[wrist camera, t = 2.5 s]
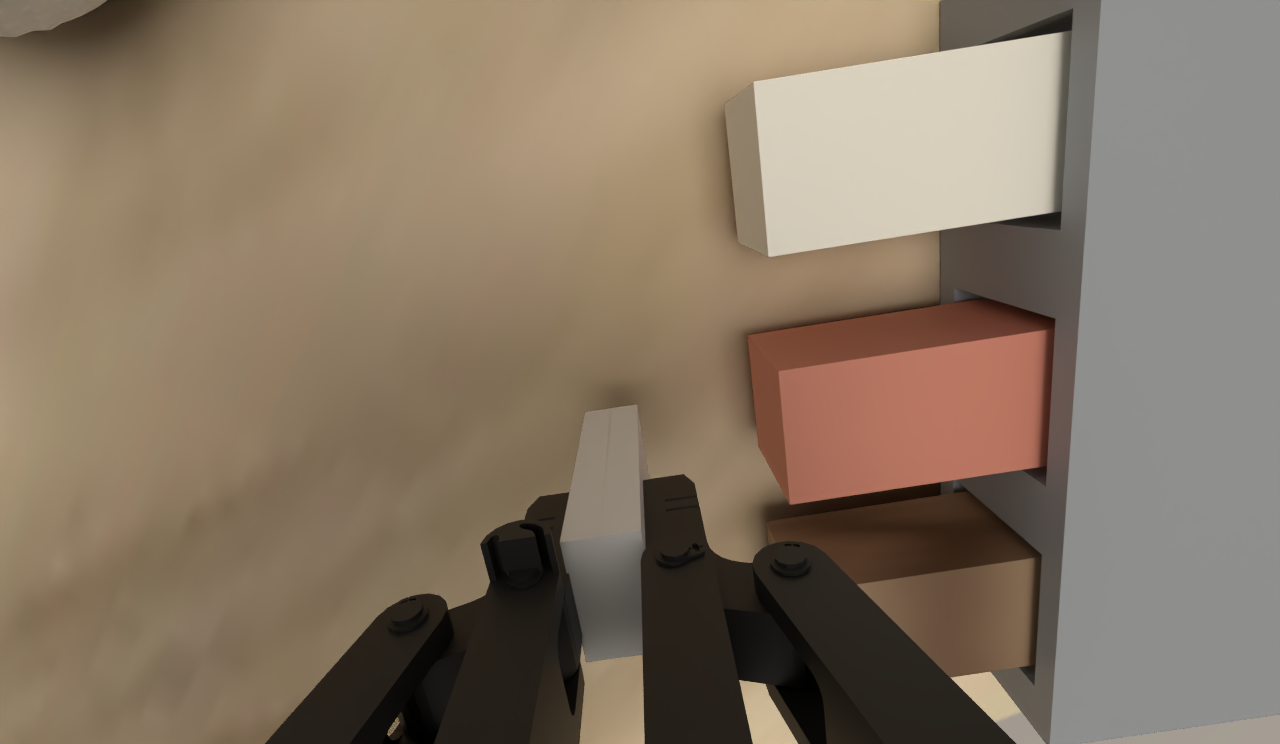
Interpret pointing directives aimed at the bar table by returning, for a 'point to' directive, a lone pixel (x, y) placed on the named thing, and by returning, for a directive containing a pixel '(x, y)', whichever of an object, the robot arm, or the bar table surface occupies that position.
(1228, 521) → the socket block
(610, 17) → the bar table surface
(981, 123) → the cream peg
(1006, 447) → the brick peg
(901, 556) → the walnut peg
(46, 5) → the mug
